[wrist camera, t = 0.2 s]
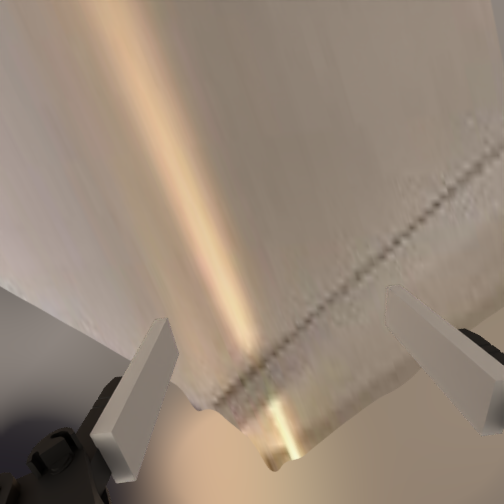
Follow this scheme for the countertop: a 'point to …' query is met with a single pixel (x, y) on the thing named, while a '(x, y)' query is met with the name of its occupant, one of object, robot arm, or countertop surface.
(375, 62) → the countertop surface
